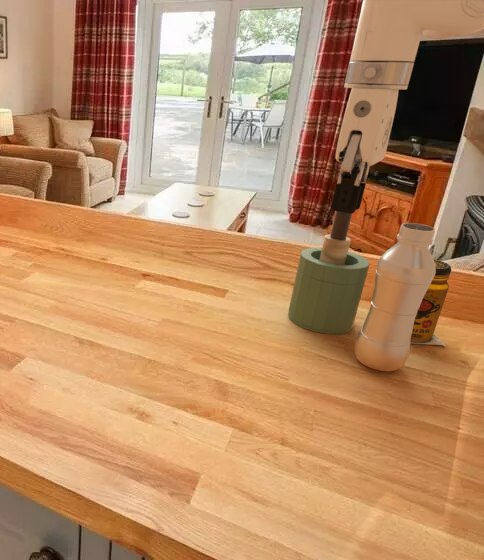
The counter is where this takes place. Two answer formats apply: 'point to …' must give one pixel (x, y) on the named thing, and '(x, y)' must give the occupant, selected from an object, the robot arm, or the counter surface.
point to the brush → (337, 240)
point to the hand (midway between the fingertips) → (345, 208)
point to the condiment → (431, 307)
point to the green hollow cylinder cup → (327, 292)
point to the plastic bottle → (396, 299)
